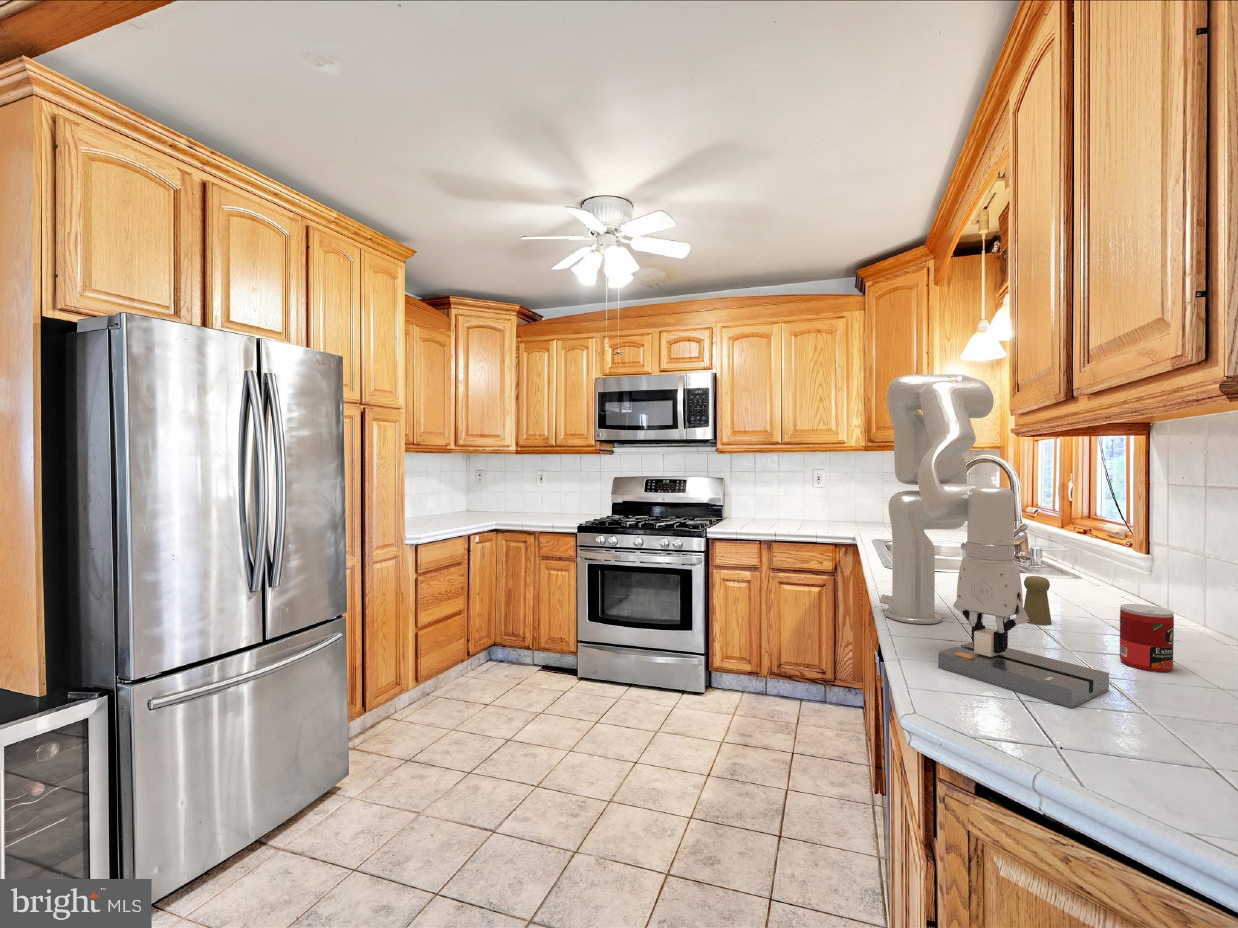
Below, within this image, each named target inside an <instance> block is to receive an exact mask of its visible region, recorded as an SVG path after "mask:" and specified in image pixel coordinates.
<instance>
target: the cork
mask: <svg viewBox="0 0 1238 928" xmlns="http://www.w3.org/2000/svg"><path fill="white" fill-rule="evenodd" d="M1023 586H1024V588H1025V589H1026V591H1025V598H1024V602H1023V604H1024V605H1023V608H1024V610H1025V612H1026V614H1027V616H1028V618H1029V622H1026V623H1025V624H1031V625H1038V626H1051V625H1052V617H1051V611H1050V610H1051V609H1050V603H1049V596H1048V591H1049V590H1050V587H1051V583H1050V581H1049V579H1047V578H1046V577H1043V576H1039V575H1030V576H1026V577H1025V578H1024V581H1023Z"/></svg>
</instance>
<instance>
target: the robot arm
mask: <svg viewBox="0 0 1238 928" xmlns="http://www.w3.org/2000/svg"><path fill="white" fill-rule="evenodd" d="M994 402H995V400H994V395H993V391H992V389H991V388H990V386H989V385H988V384H987V383H986V382H985V381H983V380H981V379H979V378H976V377H971V376H967V375H966V374H955V373H954V374H953V373H951V374H950V373H949V374H947V373H946V374H941V373H939V374H937V373H936V374H930V373H929V374H928V373H927V374H925V373H924V374H906V375H902V376H897V377H896V378H894V379H892V380H891V382H889V385H888V388H887V393H886V406H887V411H888V415H889V417H890V420H891V424H892V427H893V450H894V451H893V453H894V454H893V456H894V457H893V458H894V474H895V478H896V480H897V481H898V482H899V483H900V484H904V485H911V486H918V490H902V491H898V492H896V493H894V494H893V495H892V496H891V497H890V499H889V501H888V516H889V521H890V526H891V537H892V538H891V540H892V545H891V546H892V551H891V553H892V560H891V561H892V564H891V565H892V566H891V568H892V569H891V570H892V571H891V574H892V575H891V576H892V577H891V578H892V580H891V583H892V585H891V586H892V587H891V588H892V590H891V592H892V593H891V596H890V595H886V594H882V595H881V596H880V598H879V603H880V604H883V605H887V606H888V607H887V608H886V609H885V611H884V612H885V616H886V617H887V618H889V619H891V620H894V621H898V622H902V623H907V624H908V623H909V624H916V625H933V624H938V623H941V622H942V615H941V614H940V613H938V612H937V611H935V610H936V608H935V605H936V603H935V602H936V600H935V598H936V595H935V594H936V593H935V592H936V590H935V588H936V587H935V586H936V585H935V584H936V582H935V581H936V577H935V576H936V575H935V574H936V550H935V545H934V543H933V541H932V540H931V539H930V538H929V536H928V535H927V534H926V532H925V531H926V530H957V529H961V528H962V527H963V526H964V525H965V524H966V522H967V524H966V525H967V527H966V529H967V530H966V533H967V535H966V536H967V537H966V542H965V543H964V542H962V543H960V549H961V550H962V551H965V554H966V556H962V559H961V562H960V565H959V572H958V577H957V585H956V600H955V601H954V603H953V604H952V605H953V608H954V609H955V610H956V611H958V613H961V614H962V615H963V617H965V620H967V622H968V624H969V626H970V627H971V642H973V647H974V631H978V630H981V629H985V628H987V627H986V626H985V624H983V623H984V622H983V621H984V615H988V616H992V617H995V624H996V625H995V626H996V629H997V631H996V632H994V653H996V654H999V653H1002V652H1005V651H1006V649H1007V648H1009V635H1008V634H1009V631H1011V630H1012V629H1014V628H1015V627H1017V626H1020V625H1022V624H1027V623H1026V622H1029V618H1028V616H1027V614H1026V612H1025V610H1024V605H1023V604H1024V600H1023V585H1022V578H1021V573H1020V568H1019V564H1018V561H1015V560H1014V559H1015V551H1014V550H1015V494H1014V492H1013V491H1012V489H1010V488H1008V487H1002V486H1001V487H1000V486H995V485H992V484H987V483H986V484H985V483H968V470H967V462H966V459H965V456H964V455H963V454H964V453H967V452H968V451H969V450H970V449H972V448H973V446H974V445H975V443H976V439H977V437H976V434H975V430H974V428H973V425H972V422H971V419H983V418H986V417H987V416H988V415H990V413H992V410H993V408H994ZM920 411H921V412H922V413H921V412H920ZM1014 615H1015V618H1011V617H1012V616H1014Z"/></svg>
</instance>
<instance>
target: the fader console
mask: <svg viewBox="0 0 1238 928" xmlns="http://www.w3.org/2000/svg"><path fill="white" fill-rule="evenodd" d="M937 657H938V659H937V665H938V666H937V668H938V669H941V668H942V669H941V670H944V671H948V672H951V673H955V674H958V675H960V676H961V675H962V676H964V677H967V678H971V679H974V680H977V681H981V682H984V683H987V684H991V685H994V686H996V687H1001V688H1004V689H1007V690H1010V691H1014V692H1017V693H1019V694H1023V695H1025V696H1026V695H1027V696H1031V697H1033V698H1037V699H1039V700H1042V701H1043V700H1044V701H1047V702H1050V703H1053V704H1056V705H1060V706H1062V707H1065V708H1069V709H1073V708H1075V707H1077V706H1079V705H1082V704H1084V703H1086V702H1088V701H1090V700H1092V699H1094V698H1095V697H1096V698H1097V697H1098V696H1100V695H1102V694H1105V693H1107V692H1108V691H1110V672H1106V671H1102V670H1100V669H1099V670H1098V669H1094V668H1091V667H1087V666H1082V665H1078V664H1074V663H1070V662H1067V661H1063V660H1059V659H1055V658H1051V657H1047V656H1043V655H1038V654H1034V653H1030V652H1027V651H1022V650H1020V649H1019V650H1018V649H1016V648H1015V649H1014V648H1011V647H1007V649H1006V651H1005V652H1004V653H1001V654H998V655H995V656H992V657H989V656H985V655H981V654H978V653H974V647H973V642H972V641H971V642H968V643H967V642H966V643H964V644H961V645H960V647H959V646H953V647H951V648H948V649H944V650H940V651H938V655H937Z"/></svg>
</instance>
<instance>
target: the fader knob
mask: <svg viewBox="0 0 1238 928" xmlns="http://www.w3.org/2000/svg"><path fill="white" fill-rule="evenodd" d="M996 631H997V628H993V627H986V628H985V629H981V630H978V631H974V653H978V654H981V655H985V656H989V657H992V656H995V655H998V654H996V653H994V632H996ZM1002 653H1004V652H1002ZM999 654H1001V653H999Z"/></svg>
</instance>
